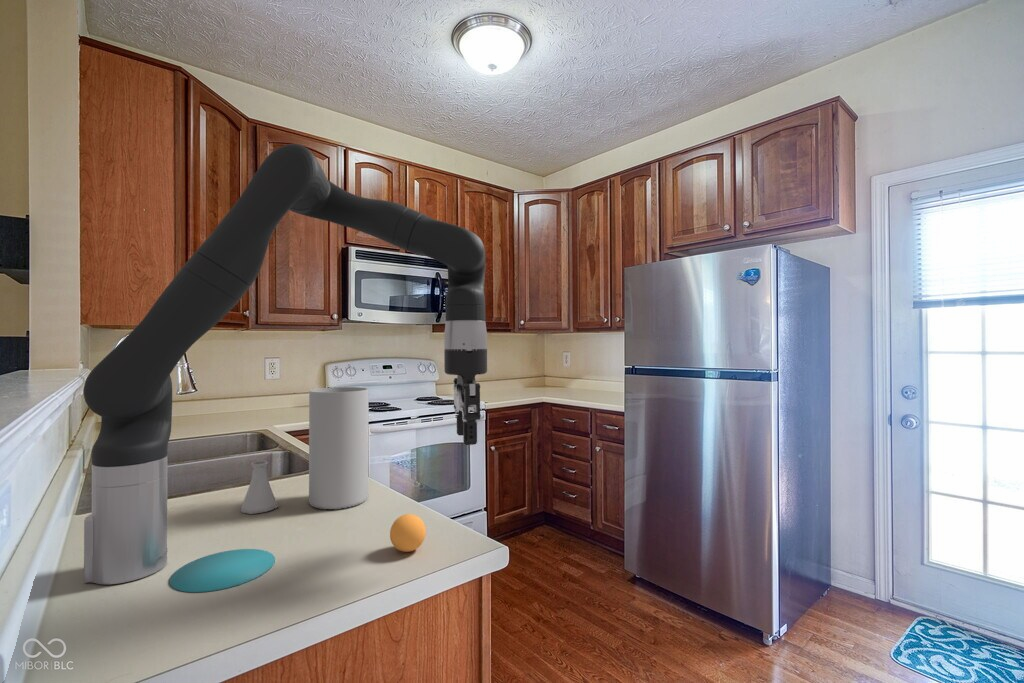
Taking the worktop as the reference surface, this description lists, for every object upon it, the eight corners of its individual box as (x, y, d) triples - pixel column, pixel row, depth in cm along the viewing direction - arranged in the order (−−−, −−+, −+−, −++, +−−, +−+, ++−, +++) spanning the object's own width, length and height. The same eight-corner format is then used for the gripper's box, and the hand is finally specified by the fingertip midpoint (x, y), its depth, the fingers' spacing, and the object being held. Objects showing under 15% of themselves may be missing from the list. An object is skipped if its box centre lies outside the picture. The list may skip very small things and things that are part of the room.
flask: (269, 501, 108) (269, 456, 108) (284, 508, 103) (284, 461, 103) (234, 509, 102) (234, 462, 102) (248, 517, 98) (249, 468, 98)
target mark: (151, 598, 67) (151, 596, 67) (191, 555, 80) (191, 553, 80) (262, 585, 70) (262, 584, 70) (283, 546, 84) (283, 545, 84)
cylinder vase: (306, 513, 100) (306, 393, 100) (311, 495, 111) (311, 388, 112) (369, 507, 104) (369, 391, 104) (367, 490, 115) (367, 386, 116)
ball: (389, 559, 78) (389, 523, 78) (389, 545, 84) (389, 510, 84) (427, 555, 80) (427, 519, 80) (424, 541, 86) (424, 507, 86)
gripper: (440, 347, 91) (440, 433, 91) (449, 347, 77) (450, 449, 77) (479, 346, 92) (479, 431, 92) (495, 347, 79) (495, 446, 79)
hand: (466, 439), depth 85 cm, fingers open, 8 cm apart
